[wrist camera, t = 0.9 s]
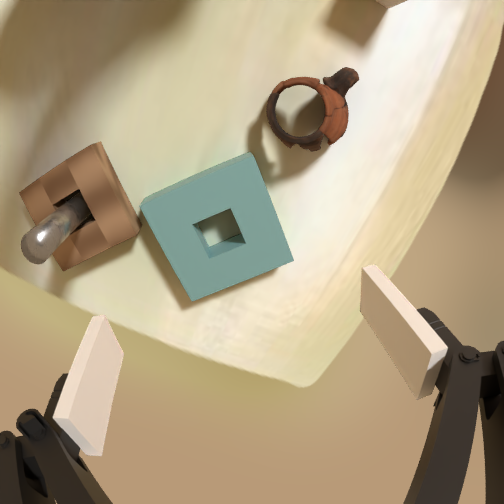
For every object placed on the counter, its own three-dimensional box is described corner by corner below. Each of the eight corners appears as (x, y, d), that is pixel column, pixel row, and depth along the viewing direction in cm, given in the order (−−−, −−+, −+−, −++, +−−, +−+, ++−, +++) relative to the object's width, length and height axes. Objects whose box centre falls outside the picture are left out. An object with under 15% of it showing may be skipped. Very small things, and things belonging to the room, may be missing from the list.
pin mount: (31, 185, 35) (19, 192, 32) (100, 141, 34) (91, 144, 31) (72, 259, 40) (63, 271, 37) (142, 225, 40) (136, 235, 36)
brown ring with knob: (322, 164, 40) (306, 170, 33) (267, 119, 41) (241, 116, 33) (381, 95, 34) (379, 84, 27) (321, 50, 34) (305, 31, 27)
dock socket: (145, 197, 38) (139, 205, 35) (249, 151, 38) (253, 155, 34) (192, 287, 44) (191, 301, 41) (287, 249, 44) (293, 260, 40)
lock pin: (68, 199, 37) (15, 240, 24) (87, 188, 37) (37, 226, 24) (79, 219, 38) (32, 269, 25) (98, 209, 38) (54, 256, 25)
